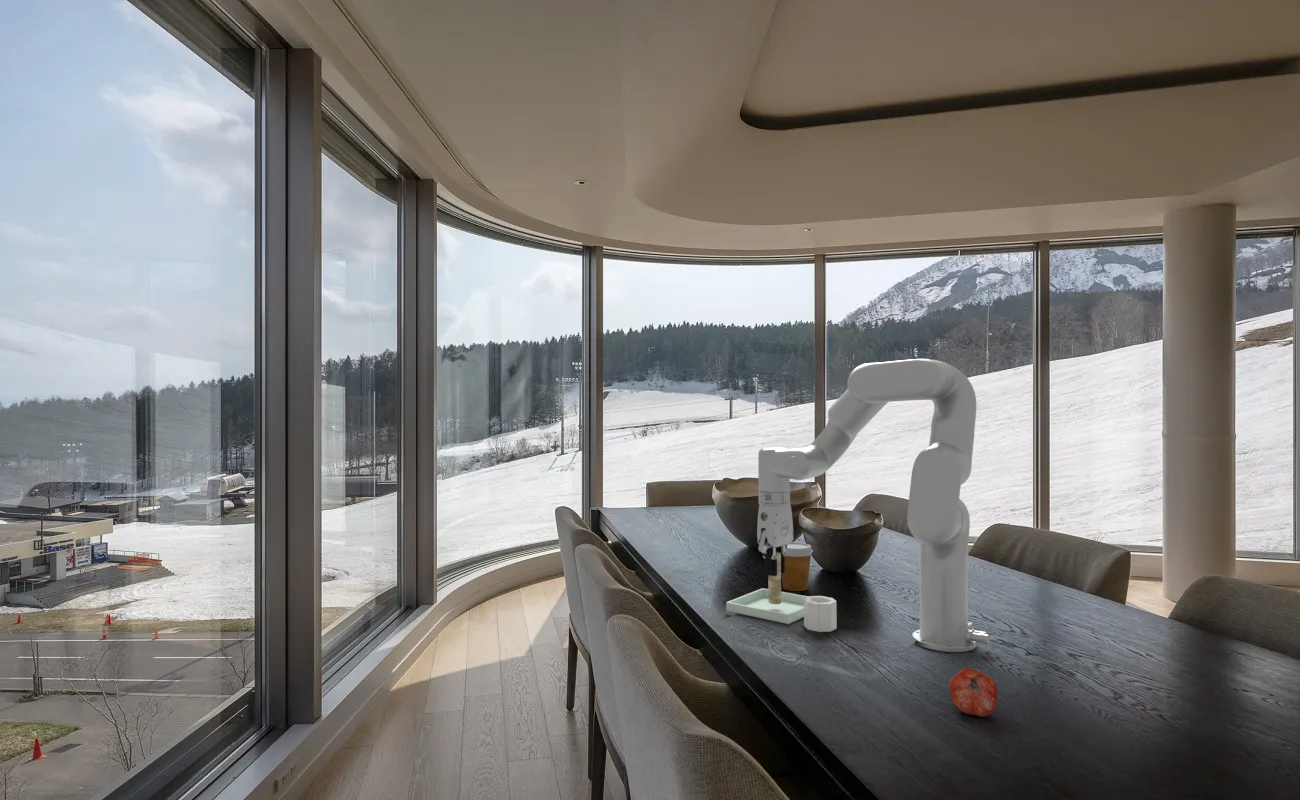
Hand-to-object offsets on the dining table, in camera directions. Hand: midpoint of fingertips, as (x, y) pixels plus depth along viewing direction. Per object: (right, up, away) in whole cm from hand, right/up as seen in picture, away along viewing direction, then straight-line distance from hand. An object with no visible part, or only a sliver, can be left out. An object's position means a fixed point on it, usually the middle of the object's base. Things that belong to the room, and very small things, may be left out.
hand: (774, 573), depth 177 cm
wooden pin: (0, -7, 0) cm, 7 cm away
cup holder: (+8, -10, -14) cm, 19 cm away
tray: (0, -10, 0) cm, 10 cm away
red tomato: (+23, -10, -57) cm, 62 cm away
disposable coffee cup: (+9, -10, +22) cm, 26 cm away
